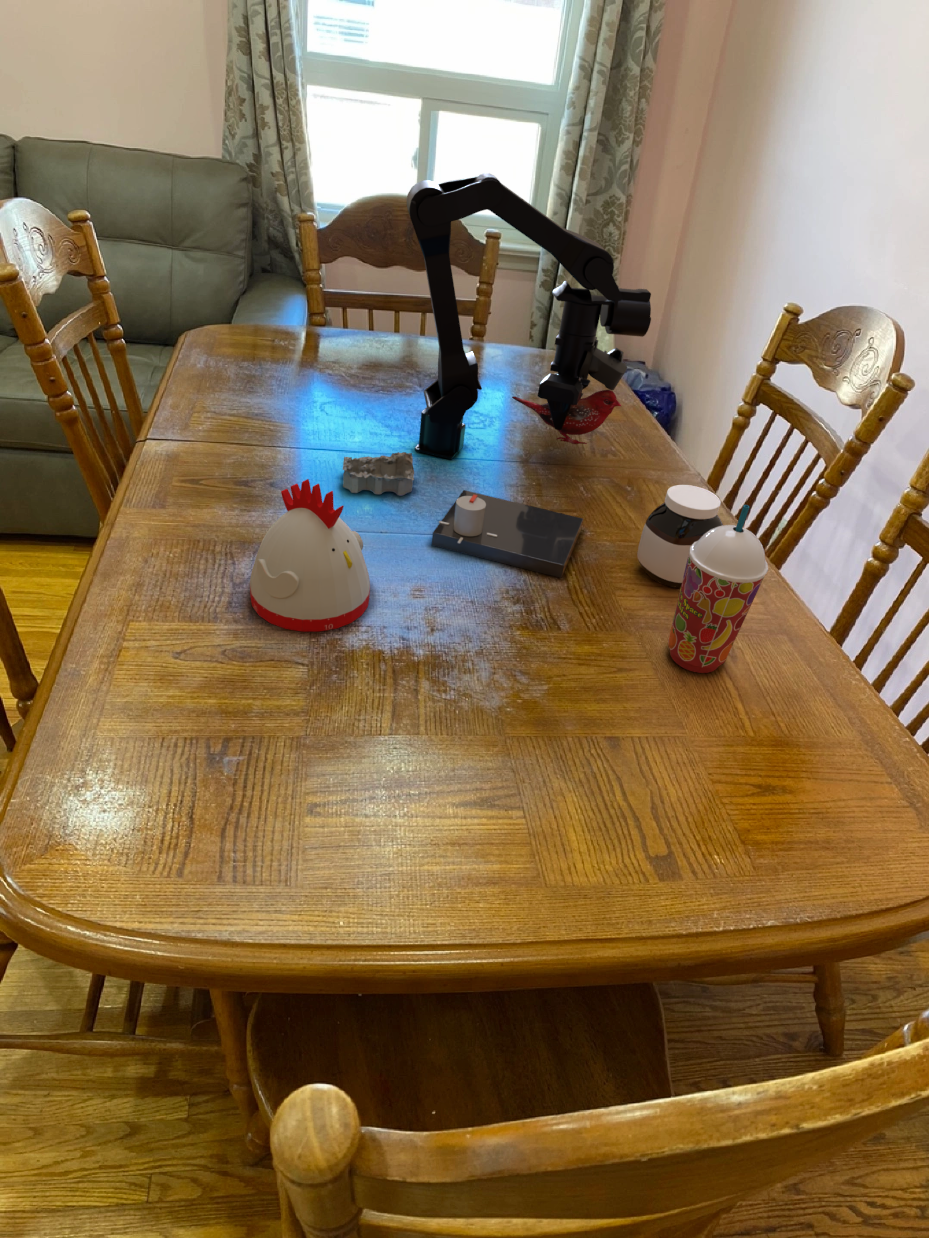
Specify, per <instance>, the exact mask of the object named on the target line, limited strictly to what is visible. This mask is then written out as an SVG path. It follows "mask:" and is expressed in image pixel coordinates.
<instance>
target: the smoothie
mask: <svg viewBox="0 0 929 1238" xmlns="http://www.w3.org/2000/svg"><path fill="white" fill-rule="evenodd" d="M749 510H750V505H748V504H743V506H742V509H741V512H740V515H739V517H738V519H737V523H736V525H735V524H723V526H718V527H716V528H713V529H711V530H709V531H708V532H706V533H705V534H704V535H703V536H702V537H701V538H700V539H699V540H698V541H696V542H694V543H693V544H692V545H691V547H690V549H689V555H688V559H687V563H686V568H685V572H684V576H683V580H682V585H681V588H679V593H678V597H677V602H676V607H675V611H674V613H673V614H674V615H673V618H672V619H673V620H672V624H671V627H670V630H669V635H668V641H667V646H668V648H669V654H670V657H671V659H672V661H674V662H675V663H676V665H678V666H679V667H681V668H683V669H685V670H687V671H690V672H694V673H697V674H698V673H699V674H708V673H712V672H714V671H716V670H717V669H718V667H720V666H722V665H723V664H725V662H726V660H727V658H728V656H729V655H730V652H731V650H732V647H733V645H734V644H735V641H736V639H737V637H738V635H739V632H740V631H741V628H742V627H743V624H744V621H745V620H746V617H747V615H748V613H749V611H750V609H751V606H752V604H753V602H754V600H755V598H756V597H757V596H756V595H757V594H758V592H759V589H760V587H761V585H762V583H763V581H764V578H765V576H766V575H767V573H768V572H769V564H768V562H767V560H766V554H765V549H764V546H763V544H762V542H761V541H760V539H759V538H758V536H756V535H755V534H754V533H753V532H752V531H751V530H749V529H747V528H745V527H744V525H745V522H746V519H747V516H748V513H749Z"/></svg>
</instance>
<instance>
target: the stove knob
mask: <svg viewBox="0 0 929 1238" xmlns="http://www.w3.org/2000/svg"><path fill="white" fill-rule="evenodd" d="M455 501H456V507H455V515H454V524H453V529H454V531H455V532H456V533H458V534H460V535H463V536H477V535H480V534H481V533H482V531H483V524H484V517H485V510H486V503H485V501H484V500H482V499H480V498H478V497H477V495H473V496H463V497H460V498H458V497H457V498H456V500H455Z"/></svg>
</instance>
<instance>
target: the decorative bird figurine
mask: <svg viewBox="0 0 929 1238" xmlns="http://www.w3.org/2000/svg"><path fill="white" fill-rule="evenodd" d="M511 398H512V399H513V400H515V401H516V402H517V403H520V404H521V405H523V406H525V407H527V408H529V409H531V410H532V411H534V412H535V413H536V414H537V415H538V416H539V417H540V419H541V420H542V421H543V422H544V423H545V424H546V425H548V426H549V427H552V428H553V429H555V428H554V424H553V420H552V416H551V412H550V409H549V405H548V402H545V403H543V404H539V403H537V402H536V403H535V402H534V401H530V400H527V399H524V398H520V397H517V396H512V397H511ZM615 407H622V404H621V403H620V402H619V401H618V399H617V396H616V393H615V392H614V390H610V389H602V390H599V391H595V392H594V393H591V394H589V395H588V396H586V397H581V399H580V400H579V402H578V403H577V405H571V407H570V409H569V412H568V414H567V417H566V419H565V422H564V425H563V427H562V429H561V430H557V431H558V433H560V435H562V436H559V437H557V438H556V440H560V441H561V442H565V443H570V444H573V445H581V444H583V445H587V444H588V443H587V442H585V441H579V440H578V439H573V438H571V437H570V436H580V435H581V436H582V435H585V434H589V433H591V432H594V431H596V430H598V428H599V427H601V426H602V425H603V424H604V422H605V421H606V420H607V418H608V417H609V415H611V414H612V413H613V411H614V408H615ZM569 435H570V436H569Z"/></svg>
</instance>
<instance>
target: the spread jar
mask: <svg viewBox="0 0 929 1238" xmlns="http://www.w3.org/2000/svg"><path fill="white" fill-rule="evenodd" d="M721 505H722V502H721V499H720V498H719V497H718V495H716V494H715V493H714V492H712V491H710V490H708V489H706V488H703V487H700V486H696V485H691V484H676V485H672V486H670V487H669V488H668V489H667V491H666V494H665V498H664V502H662V503H661V504H659V505H658V506H657V507H656V508H655V509H654V510H653V511H652V512H651V513H650V514H649V515H648V517H647V518H646V520H645V522H644V525H643V528H642V532H641V535H640V539H639V542H638V547H637V552H636V553H637V554H636V555H637V557H636V558H637V561H638V563H639V566H640V567H641V568H642V570H643V571H644V572H645V574H647V575H648V576H649V578H651V580H653V581H655V582H656V583H658V584H661V585H662V586H666V587H671V588H678V589H681V585H682V580H683V576H684V572H685V568H686V563H687V559H688V555H689V549H690V547H691V545H692V544H693V543H694V542H696V541H698V540H699V539H700V538H701V537H702V536H703V535H704V534H705V533H706V532H708V531H709V530H711V529H713V528H716V527H718V526H723V525H724V524H723V522H722V520H721V518H720V517H719V515H718V514H719V510H720V507H721Z"/></svg>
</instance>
